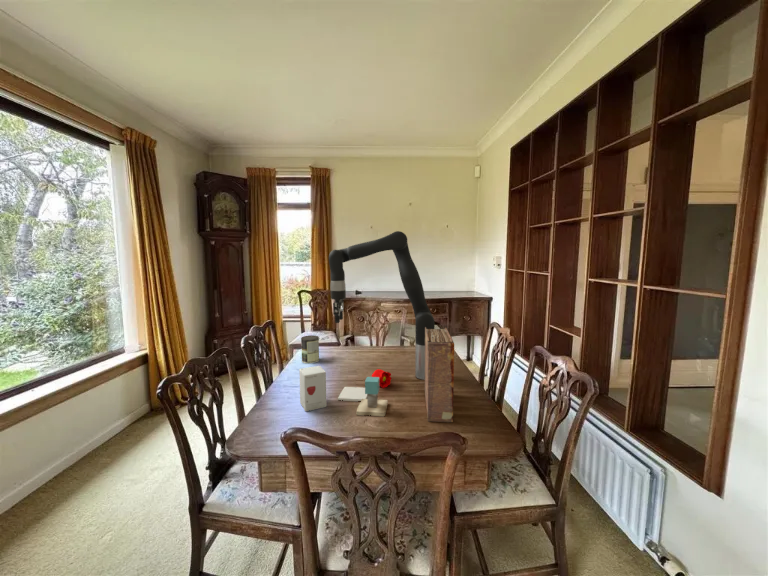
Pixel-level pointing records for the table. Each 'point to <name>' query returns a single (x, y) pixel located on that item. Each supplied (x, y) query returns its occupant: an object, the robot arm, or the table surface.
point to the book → (439, 375)
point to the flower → (382, 377)
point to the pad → (352, 394)
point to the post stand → (372, 406)
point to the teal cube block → (372, 385)
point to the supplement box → (312, 388)
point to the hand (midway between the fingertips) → (339, 321)
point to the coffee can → (310, 349)
